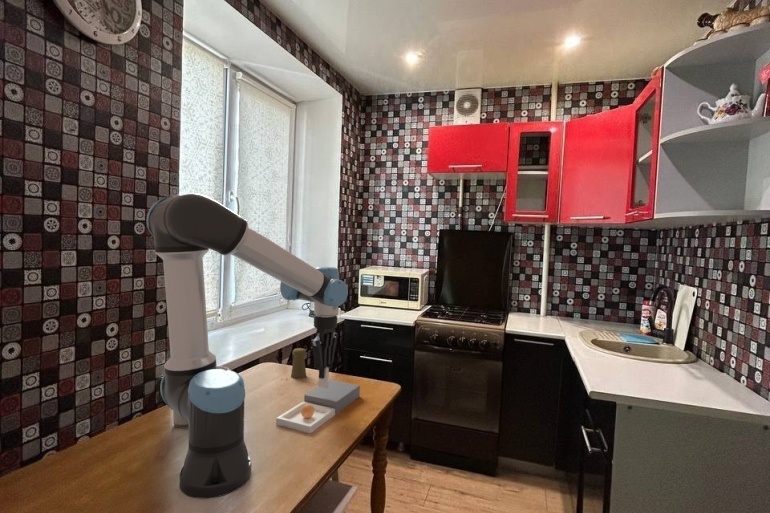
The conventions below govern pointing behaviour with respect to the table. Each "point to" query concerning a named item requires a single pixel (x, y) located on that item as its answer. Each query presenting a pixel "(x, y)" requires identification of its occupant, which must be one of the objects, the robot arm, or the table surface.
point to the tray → (300, 423)
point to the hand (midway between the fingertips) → (323, 387)
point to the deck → (334, 395)
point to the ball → (307, 411)
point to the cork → (298, 363)
